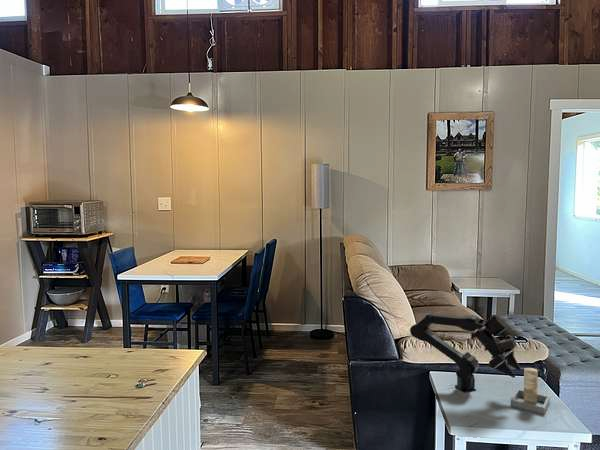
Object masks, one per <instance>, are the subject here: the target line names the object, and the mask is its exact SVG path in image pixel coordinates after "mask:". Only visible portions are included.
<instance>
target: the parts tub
mask: <svg viewBox="0 0 600 450" xmlns="http://www.w3.org/2000/svg"><path fill="white" fill-rule="evenodd" d="M519 397H521V398H524V389H523V390H522V389H518V388H517V389H516V391H515V392H514V394H513V396H512V397H511V398H510V406H511V407H514V408H518V409H521V410H522V409H523V410H525V411H526V410H527V411H530V412H533V413H537V414H543V415H545V414H546V412H547V409H548V407H549V405H550V403H551V396H550V395H544V394H541V393H537V402H538V401H539V402H543V404H542V406H541V405H539V404H537V405H534V404H530V403H526V402H524V401H521V400H518V398H519Z"/></svg>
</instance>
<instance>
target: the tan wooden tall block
mask: <svg viewBox="0 0 600 450" xmlns="http://www.w3.org/2000/svg"><path fill="white" fill-rule="evenodd" d="M538 372H539V371H538V370H537V369H536V368H532V367H525V368H524V369H523V390H524V397H523V402H526V403H530V404H534V405H538V400H537V394H538V374H539V373H538Z"/></svg>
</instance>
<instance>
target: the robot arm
mask: <svg viewBox="0 0 600 450" xmlns="http://www.w3.org/2000/svg"><path fill="white" fill-rule="evenodd" d="M432 324H433V325H434V324H435V325H442V326H450V327H456V328H459V329H461V330H463V331H464V330H465V331H468V332H470V340H474V339H477V340H478V341H479V343H480V344H481V345H482V346H483V347H484V348H483V351H485V352H486V351H487V352H489V354H490V355H491V359H490V360H488V366H489V367H490V368H491V369H494V370H497V371H499V372H500V373H503V374H505V375H507V376H509V377H512V378H515V377H516V375H515V373H514V371H513V370H512V369H511V367H513V368H514V369H515V370H517V371H520V370H521V367H520V365H519V363H518V361H517V360H516V357H515V348H516V346H517V342H516V338H514V337H513V336H511V335H510V334H509V335H506V336H505V339H503V340H500V339H499V338H496V337H495V336H498V335H500V334H501V333H502V332H503V331H505V330H506V329H507V328H508V324H507V322H506V321H505V320H504V319H503V318H501V317H500V316H498V315H496V314H494V315H492V316H491V318H490V319H488V320H486V319H484V318H480V317H478V316H477V315H475V314H469V315H461V316H457V315H446V314H438V313H432V312H431V313H428V314H427V315H425V317H423V318H422V319H421V320H420V321H419V322H417V323H415V324H413V325H411V326H410V328H409V333H410V335H411V336H412V337H413V338H415V339H417V340H419V341H421V342H426V343H427V344H429V345H430V346H432V347H433V348H435V349H436V350H437V351H439V352H441V353H442V354H443V355H445V356H446V357H448V358H449V359H450V360H452V361H453V362H454V363H455V365H456V366H457V367H458V369H457V370H456V371H455V375H456V377H457V378H456V384H455V385H454V387H455V388H456V389H458V390H459V391H461V392H463V393H467V392H468V393H469V392H474V391H475V392H476V391H477V389H476V388H475V387H476V385H475V383H476V379H475V375H474V374H475V373H476V371H478V369H480V363H479V361H478V359H477V357H476V356H474V355H472V354H471V353H470V352H468V351H467V352H465V353H463V352H460V351H459V350H458V349H456V348H454V347H453V346H451V344H449V343H447V342H446V341H444V340H443V339H441V338H440V337H438V335H435V334H434V333H433V332H432V330H431V328H430V326H431V325H432ZM510 366H511V367H510Z"/></svg>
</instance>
